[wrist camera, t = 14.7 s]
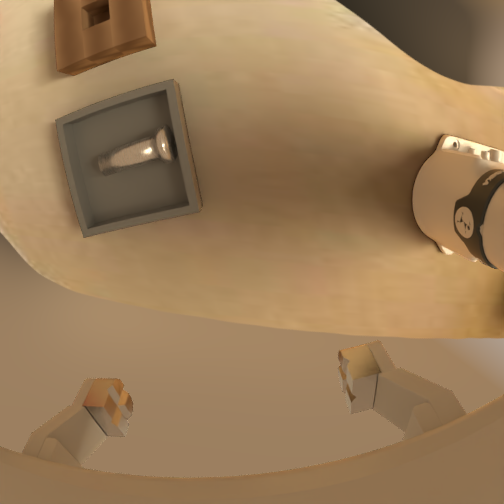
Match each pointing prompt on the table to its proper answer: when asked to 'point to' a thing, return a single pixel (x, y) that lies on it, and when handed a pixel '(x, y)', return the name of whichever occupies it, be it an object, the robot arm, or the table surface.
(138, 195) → the tray
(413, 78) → the table surface
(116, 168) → the pin
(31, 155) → the table surface
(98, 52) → the block
